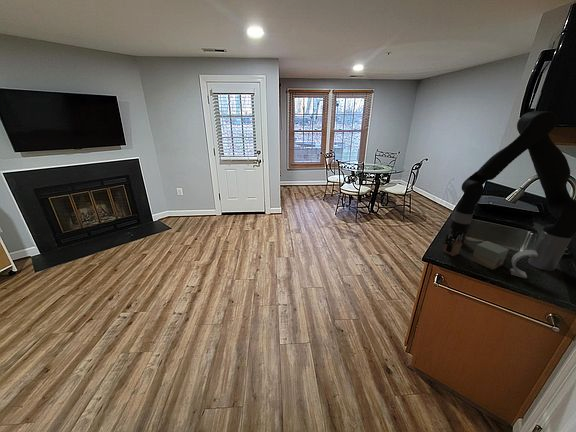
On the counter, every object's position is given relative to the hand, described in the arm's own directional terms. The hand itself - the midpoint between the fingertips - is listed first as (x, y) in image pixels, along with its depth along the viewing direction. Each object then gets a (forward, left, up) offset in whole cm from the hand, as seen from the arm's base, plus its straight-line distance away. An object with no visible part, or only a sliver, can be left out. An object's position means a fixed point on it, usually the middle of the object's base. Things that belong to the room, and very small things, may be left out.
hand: (451, 250), depth 121 cm
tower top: (-7, +13, +3) cm, 15 cm away
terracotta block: (0, 0, -1) cm, 1 cm away
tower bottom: (-7, +13, -2) cm, 15 cm away
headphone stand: (-9, +24, -2) cm, 26 cm away
